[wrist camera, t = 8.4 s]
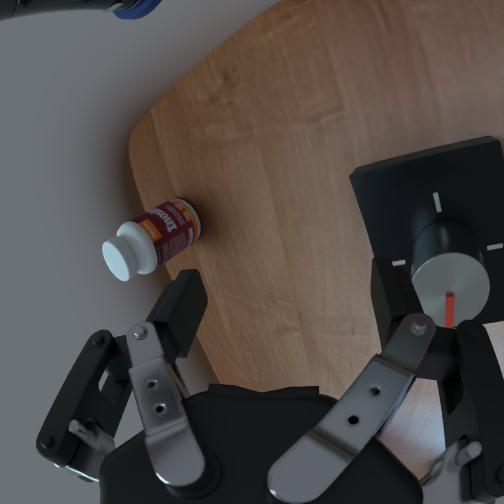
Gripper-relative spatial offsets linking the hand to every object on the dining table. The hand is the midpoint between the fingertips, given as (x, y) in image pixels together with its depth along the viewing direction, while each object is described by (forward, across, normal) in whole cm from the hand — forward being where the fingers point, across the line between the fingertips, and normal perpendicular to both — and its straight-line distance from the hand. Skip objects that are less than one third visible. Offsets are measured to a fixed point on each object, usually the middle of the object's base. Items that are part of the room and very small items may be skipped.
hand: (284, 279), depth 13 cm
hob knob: (+7, -12, +4) cm, 14 cm away
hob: (+10, -13, +4) cm, 16 cm away
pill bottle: (+20, +14, +5) cm, 25 cm away
